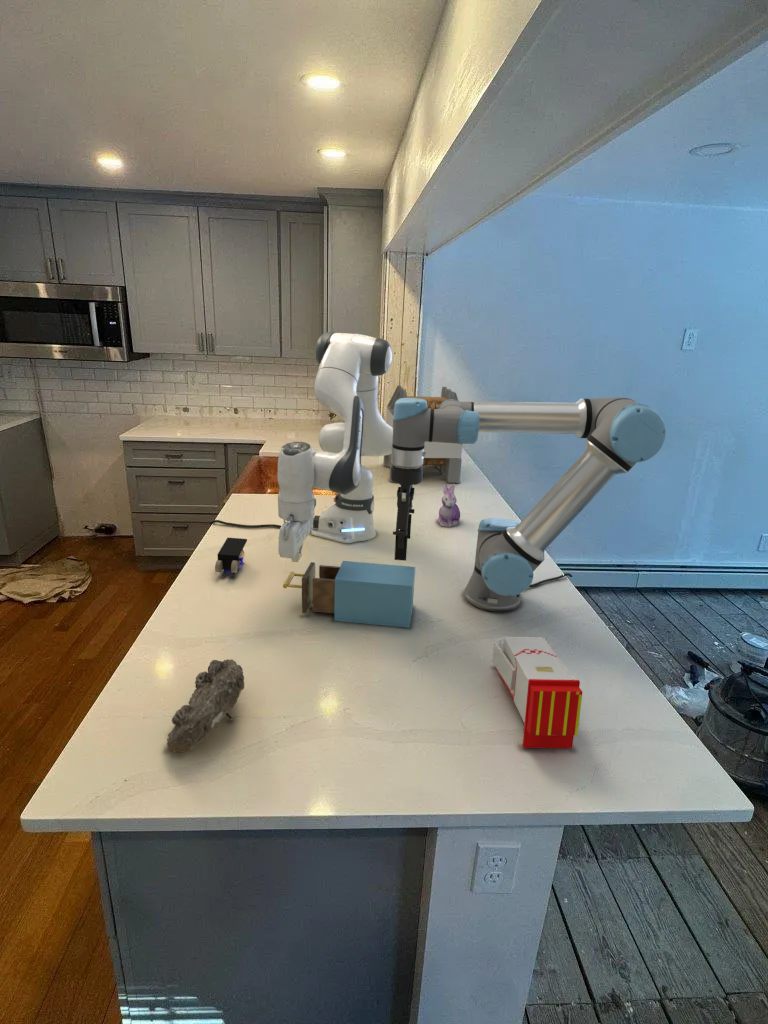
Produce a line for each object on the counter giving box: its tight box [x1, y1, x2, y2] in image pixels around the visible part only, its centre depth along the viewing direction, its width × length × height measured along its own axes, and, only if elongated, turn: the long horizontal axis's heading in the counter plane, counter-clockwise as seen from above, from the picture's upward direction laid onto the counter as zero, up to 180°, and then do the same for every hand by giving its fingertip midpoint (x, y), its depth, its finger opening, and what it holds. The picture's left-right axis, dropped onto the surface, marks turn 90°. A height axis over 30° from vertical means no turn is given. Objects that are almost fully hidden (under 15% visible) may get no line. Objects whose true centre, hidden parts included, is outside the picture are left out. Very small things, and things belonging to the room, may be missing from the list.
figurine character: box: [214, 537, 248, 578], centre depth 166 cm, size 7×8×15 cm
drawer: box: [282, 561, 340, 614], centre depth 146 cm, size 23×10×10 cm, turn 84°
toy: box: [491, 636, 583, 749], centre depth 115 cm, size 12×13×30 cm
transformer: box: [383, 384, 463, 484], centre depth 268 cm, size 34×33×41 cm
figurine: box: [437, 483, 461, 528], centre depth 209 cm, size 9×10×15 cm
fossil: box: [166, 658, 245, 754], centre depth 106 cm, size 22×10×15 cm
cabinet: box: [333, 560, 416, 629], centre depth 145 cm, size 19×11×12 cm, turn 84°
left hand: (296, 559), depth 145 cm, fingers closed
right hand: (402, 548), depth 140 cm, fingers open, 13 cm apart
